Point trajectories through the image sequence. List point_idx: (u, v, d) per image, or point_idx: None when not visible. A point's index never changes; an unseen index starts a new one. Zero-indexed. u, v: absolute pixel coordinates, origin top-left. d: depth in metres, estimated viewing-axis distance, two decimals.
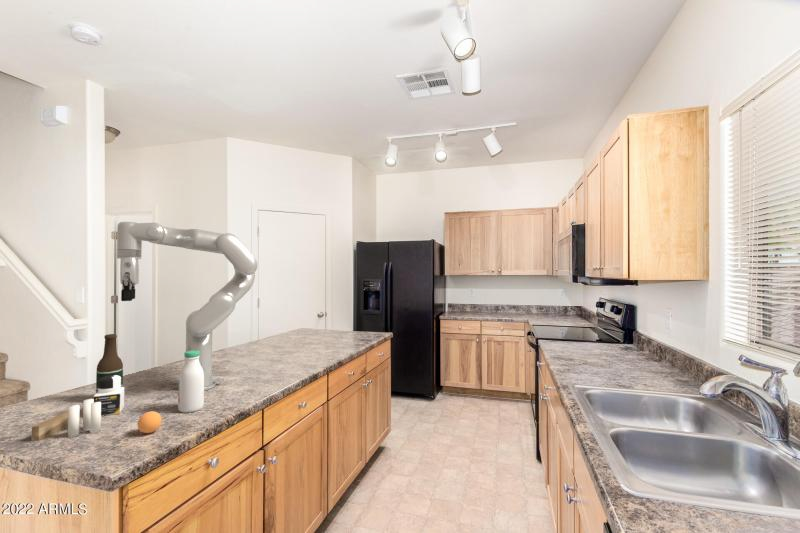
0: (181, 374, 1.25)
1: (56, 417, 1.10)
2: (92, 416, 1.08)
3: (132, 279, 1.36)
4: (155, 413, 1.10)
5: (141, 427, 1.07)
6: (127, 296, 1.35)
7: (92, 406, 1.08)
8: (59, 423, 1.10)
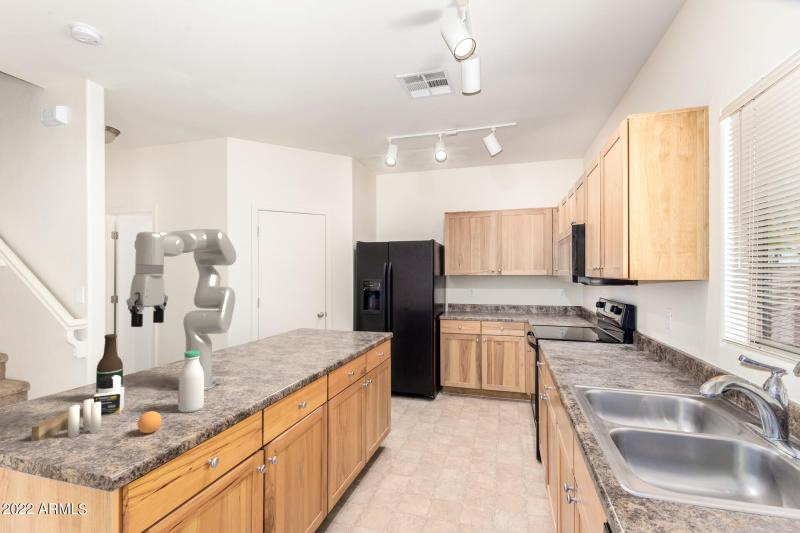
0: (181, 374, 1.25)
1: (56, 417, 1.10)
2: (92, 416, 1.08)
3: None
4: (155, 413, 1.10)
5: (141, 427, 1.07)
6: None
7: (92, 406, 1.08)
8: (59, 423, 1.10)
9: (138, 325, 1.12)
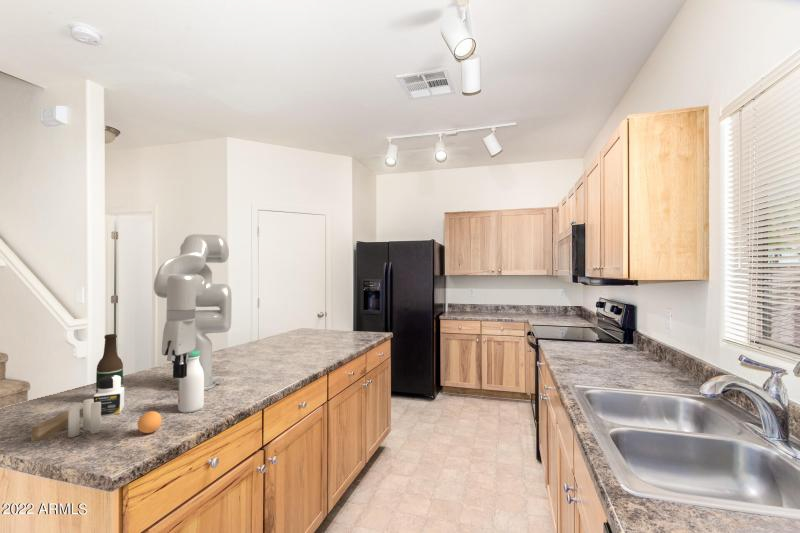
0: None
1: (56, 417, 1.10)
2: (92, 416, 1.08)
3: None
4: (155, 413, 1.10)
5: (141, 427, 1.07)
6: None
7: (92, 406, 1.08)
8: (59, 423, 1.10)
9: (180, 376, 1.09)
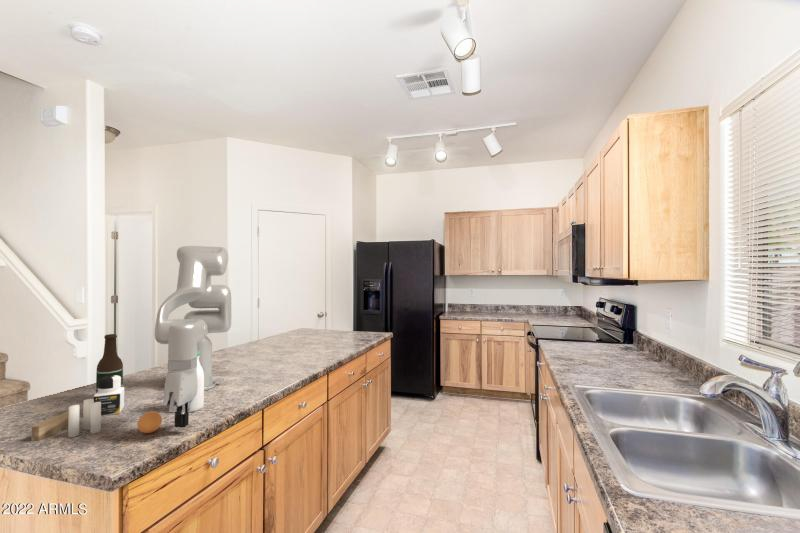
0: None
1: (56, 417, 1.10)
2: (92, 416, 1.08)
3: None
4: (155, 413, 1.10)
5: (141, 427, 1.07)
6: None
7: (92, 406, 1.08)
8: (59, 423, 1.10)
9: (182, 425, 1.09)
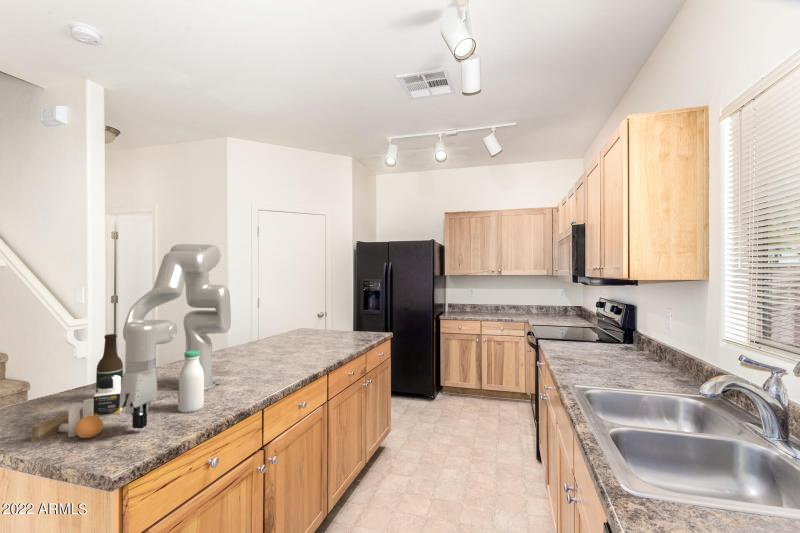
0: (181, 374, 1.25)
1: (56, 417, 1.10)
2: None
3: None
4: (101, 428, 1.07)
5: (82, 434, 1.03)
6: None
7: (60, 429, 1.08)
8: (59, 423, 1.10)
9: (140, 426, 1.09)
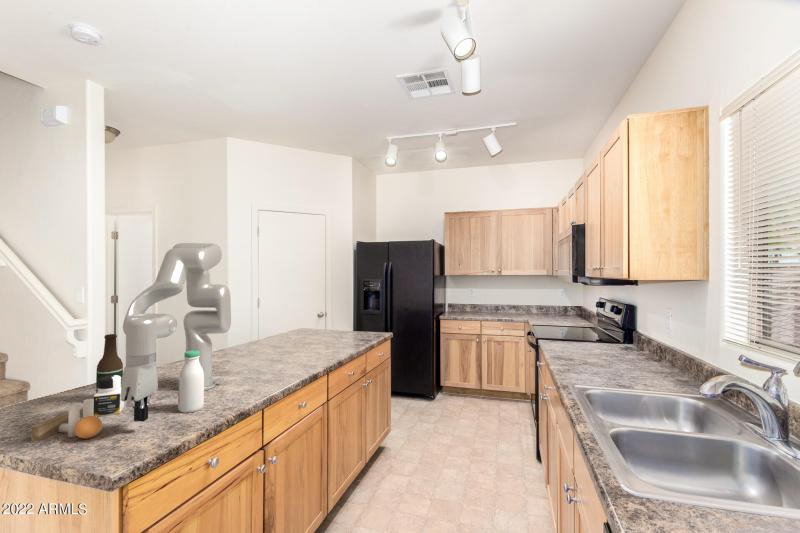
0: (181, 374, 1.25)
1: (56, 417, 1.10)
2: None
3: None
4: (101, 427, 1.07)
5: (82, 434, 1.03)
6: None
7: (60, 429, 1.08)
8: (59, 423, 1.10)
9: (141, 419, 1.10)
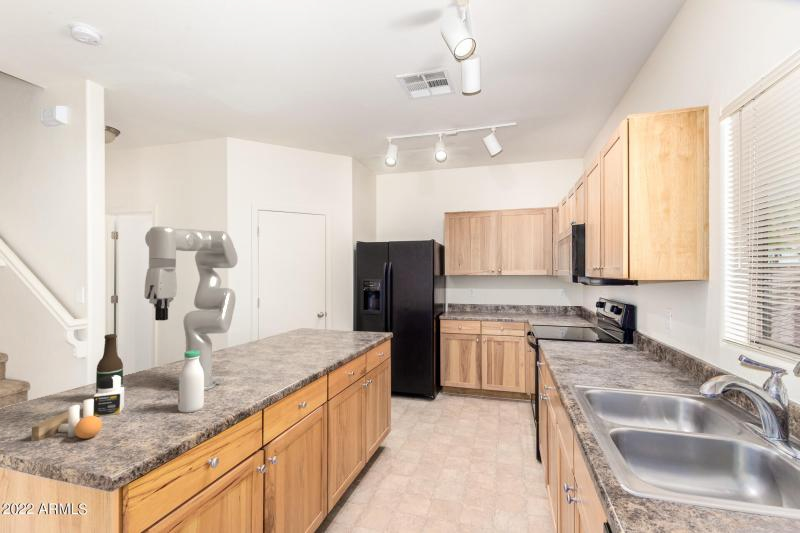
0: (181, 374, 1.25)
1: (56, 417, 1.10)
2: None
3: None
4: (101, 427, 1.07)
5: (82, 434, 1.03)
6: None
7: (59, 430, 1.08)
8: (59, 423, 1.10)
9: (162, 319, 1.20)
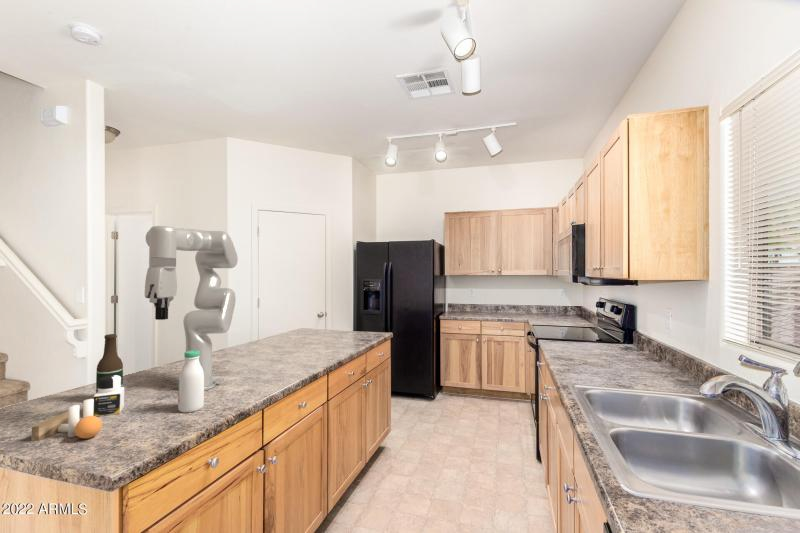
0: (181, 374, 1.25)
1: (56, 417, 1.10)
2: None
3: None
4: (101, 427, 1.07)
5: (82, 434, 1.03)
6: None
7: (59, 430, 1.08)
8: (59, 423, 1.10)
9: (162, 318, 1.21)
